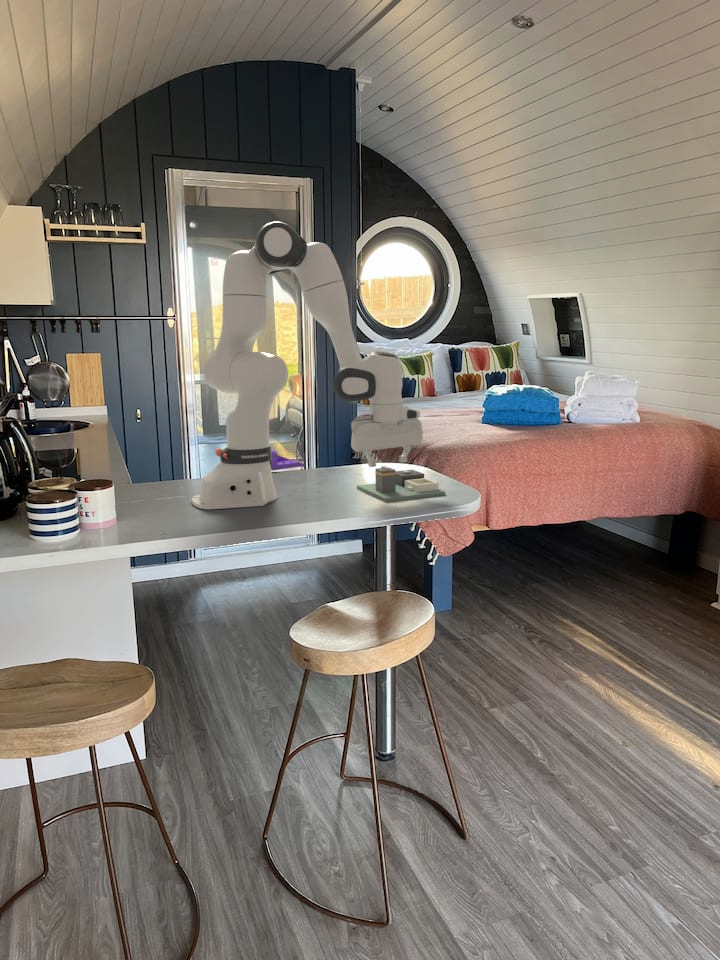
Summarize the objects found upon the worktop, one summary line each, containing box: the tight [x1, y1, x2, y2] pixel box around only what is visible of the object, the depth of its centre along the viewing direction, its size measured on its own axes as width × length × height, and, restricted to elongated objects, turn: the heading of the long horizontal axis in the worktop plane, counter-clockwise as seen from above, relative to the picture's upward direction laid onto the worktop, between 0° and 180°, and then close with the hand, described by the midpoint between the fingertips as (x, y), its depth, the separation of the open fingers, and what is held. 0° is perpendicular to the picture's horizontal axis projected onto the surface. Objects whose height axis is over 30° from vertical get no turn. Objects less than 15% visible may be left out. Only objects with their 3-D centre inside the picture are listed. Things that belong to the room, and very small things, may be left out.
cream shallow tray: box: [405, 477, 439, 492], centre depth 204 cm, size 8×7×2 cm
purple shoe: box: [271, 449, 305, 472], centre depth 241 cm, size 12×7×7 cm, turn 125°
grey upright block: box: [374, 465, 396, 493], centre depth 202 cm, size 4×4×7 cm
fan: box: [395, 469, 425, 487], centre depth 211 cm, size 7×7×3 cm
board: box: [356, 482, 446, 503], centre depth 205 cm, size 18×18×1 cm
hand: (387, 464), depth 201 cm, fingers open, 8 cm apart
